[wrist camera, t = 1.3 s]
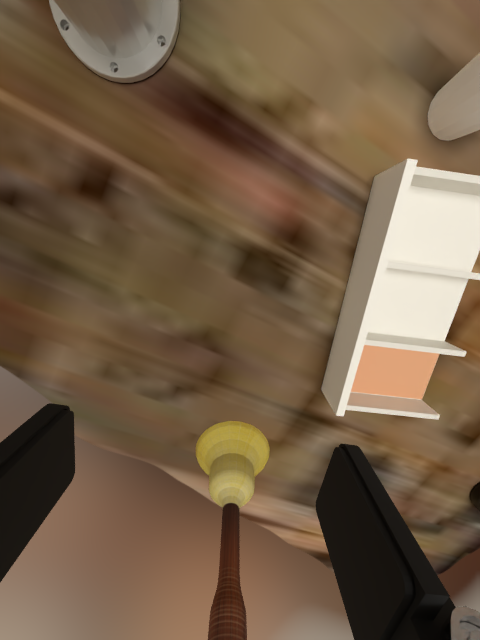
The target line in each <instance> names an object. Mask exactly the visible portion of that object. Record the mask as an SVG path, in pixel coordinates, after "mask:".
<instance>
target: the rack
mask: <svg viewBox="0 0 480 640" xmlns="http://www.w3.org/2000/svg"><path fill="white" fill-rule="evenodd" d="M417 161H418V160H413V159H406V160H404V161H402V162H400V163H399V164H397V165H395V166H393V167H391V168H389V169H387V170H385V171H383V172H381V173H380V174H378V175H376V176H374V180H373V184H372V188H371V192H370V196H369V200H368V204H367V208H366V212H365V216H364V220H363V224H362V228H361V232H360V236H359V240H358V244H357V248H356V252H355V256H354V260H353V264H352V268H351V272H350V276H349V280H348V284H347V288H346V292H345V296H344V300H343V304H342V308H341V312H340V316H339V320H338V324H337V328H336V332H335V336H334V340H333V344H332V348H331V352H330V356H329V360H328V364H327V368H326V372H325V376H324V380H323V384H322V388H321V391H322V392H323V394H324V396H325V397H326V399H327V401H328V403H329V404H330V406H331V408H332V409H333V411H334V413H335V415H336V416H344V413H345V410H354V411H363V412H372V413H382V414H391V415H401V416H410V417H419V418H429V419H439V416H440V415H439V414H438V413H437V412H436V411H434V410H433V409H432V408H431V407H430V406H428V405H427V404H426V403H425V402H423V401H422V398H423V395H424V393H425V390H426V387H427V385H428V382H429V380H430V377H431V374H432V372H433V369H434V367H435V364H436V362H437V359H438V356H439V354H446V355H455V356H463V357H465V355H466V351H464V350H462V349H460V348H458V347H455V346H453V345H451V344H449V343H447V342H444V341H445V338H446V336H447V333H448V331H449V328H450V325H451V323H452V320H453V318H454V315H455V312H456V310H457V307H458V305H459V302H460V299H461V297H462V294H463V292H464V289H465V287H466V284H467V281H468V279H476V280H480V273H472V272H471V271H472V268H473V266H474V263H475V261H476V258H477V256H478V253H479V250H480V176H475V175H469V174H462V173H455V172H449V171H442V170H436V169H429V168H422V167H416V164H417Z"/></svg>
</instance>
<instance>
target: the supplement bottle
mask: <svg viewBox="0 0 480 640" xmlns="http://www.w3.org/2000/svg"><path fill="white" fill-rule="evenodd" d="M471 501H472V503H473V504H474V505H475V507H476V508H477V509H478V510H479V511H480V483H479V484H477V485H476V486H475V487H474V488H473V490H472V492H471Z"/></svg>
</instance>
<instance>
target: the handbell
mask: <svg viewBox="0 0 480 640" xmlns="http://www.w3.org/2000/svg"><path fill="white" fill-rule="evenodd" d="M269 451H270V448H269V445H268V441H267V439H266V438H265V436H264V435H263V434H262V432H261V431H259V430H258V429H257V428H255V427H254V426H252V425H250V424H247V423H243V422H238V421H227V422H222V423H217V424H215V425H214V426H212V427H210V428H208V429H207V430H206V431H205V432H204V433H203V434H202V435H201V436H200V437H199V440H198V442H197V444H196V457H197V460H198V462H199V465H200V467H201V468H202V469H203V470H204V471H205V472H206V474H208V475H209V492H210V495H211V497H212V499H213V500H214V501H215V502H216V503H217V504H218V505H220V506H221V507H222V508H223V516H222V534H221V549H220V566H219V578H218V585H217V590H216V593H215V596H214V600H213V604H212V607H211V612H210V621H209V632H208V640H247V629H246V610H245V606H244V601H243V596H242V593H241V587H240V575H239V509H240V507H241V506H243V505H245V504H246V503H247V502H248V501H249V500H250V499H251V497H252V495H253V493H254V486H255V476H256V475H257V474H258V473H259V472H260V471H262V470H263V468H264V466H265V464H266V462H267V461H268V459H269Z"/></svg>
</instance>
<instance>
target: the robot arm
mask: <svg viewBox="0 0 480 640" xmlns="http://www.w3.org/2000/svg"><path fill="white" fill-rule="evenodd" d="M49 4H50V7H51V11H52V14H53V18H54V20H55V23H56V25H57V27H58V29H59V32H60V34H61V35H62V37H63V38H64V40H65V42H66V43H67V45H68V46H69V48H70V49H71V50H72V51H73V53H74V54H75V55H76V56H77V57H78V59H79V60H80V61H81V62H82V63H83V64H84V65H85V66H86V67H87V68H89V69H90V70H92V71H93V72H94V73H96V74H97V75H99V76H101V77H103V78H105V79H108V80H110V81H115V82H120V83H133V82H136V81H140V80H143V79H145V78H147V77H149V76H151V75H153V74H154V73H155V72H156V71H157V70H158V69H160V68H161V67H162V65H163V64H164V63H165V61H166V60H167V59H168V57H169V56H170V54H171V51H172V49H173V47H174V45H175V42H176V38H177V35H178V31H179V24H180V0H49ZM74 473H75V446H74V413H73V411H70V408H69V407H68V406H65V405H58V404H47V405H46V406H44V407H43V408H42V409H41V410H39V411H38V412H37V413H36V414H35V415H33V416H32V417H31V418H30V419H28V420H27V421H26V422H25V423H24V424H22V425H21V426H20V427H19V428H18V429H16V430H15V431H14V432H13V433H12V434H11V435H9V436H8V437H7V438H6V439H4V440H3V441H2V442H1V443H0V582H1V581H2V579H3V578H4V576H5V575H6V573H7V572H8V571H9V569H10V568H11V566H12V565H13V564H14V562H15V561H16V559H17V558H18V557H19V555H20V554H21V552H22V551H23V549H24V548H25V547H26V545H27V544H28V542H29V541H30V539H31V538H32V537H33V535H34V534H35V532H36V531H37V530H38V528H39V527H40V525H41V524H42V522H43V521H44V520H45V518H46V517H47V515H48V514H49V513H50V511H51V510H52V508H53V507H54V506H55V504H56V503H57V501H58V500H59V498H60V497H61V496H62V494H63V493H64V491H65V490H66V489H67V487H68V486H69V484H70V483H71V481H72V479H73V477H74ZM316 511H317V515H318V519H319V522H320V525H321V529H322V532H323V536H324V539H325V542H326V546H327V549H328V552H329V556H330V559H331V562H332V566H333V569H334V573H335V576H336V579H337V583H338V586H339V589H340V593H341V596H342V600H343V603H344V606H345V610H346V613H347V616H348V620H349V623H350V626H351V630H352V633H353V637H354V640H480V613H479V612H478V611H476V610H474V609H471V608H469V607H466V606H463V607H462V606H460V607H455V606H454V604H453V602H452V601H451V599H450V598H449V594H448V593H447V591H446V589H445V588H444V586H443V584H442V583H441V581H440V579H439V578H438V576H437V574H436V573H435V571H434V569H433V568H432V566H431V564H430V563H429V561H428V559H427V558H426V556H425V555H424V553H423V551H422V550H421V548H420V546H419V545H418V543H417V541H416V540H415V538H414V536H413V535H412V533H411V531H410V530H409V528H408V526H407V525H406V523H405V522H404V520H403V518H402V517H401V515H400V513H399V512H398V510H397V508H396V507H395V505H394V503H393V502H392V500H391V498H390V497H389V495H388V493H387V492H386V490H385V488H384V487H383V485H382V484H381V482H380V480H379V479H378V477H377V475H376V474H375V472H374V470H373V469H372V467H371V465H370V464H369V462H368V460H367V459H366V457H365V455H364V454H363V452H362V451H361V449H360V448H359V447H358V446H355V445H348V444H340V445H339V447H336V448H335V449H334V452H333V455H332V457H331V460H330V463H329V466H328V469H327V472H326V474H325V477H324V480H323V483H322V486H321V489H320V491H319V494H318V497H317V500H316Z"/></svg>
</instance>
